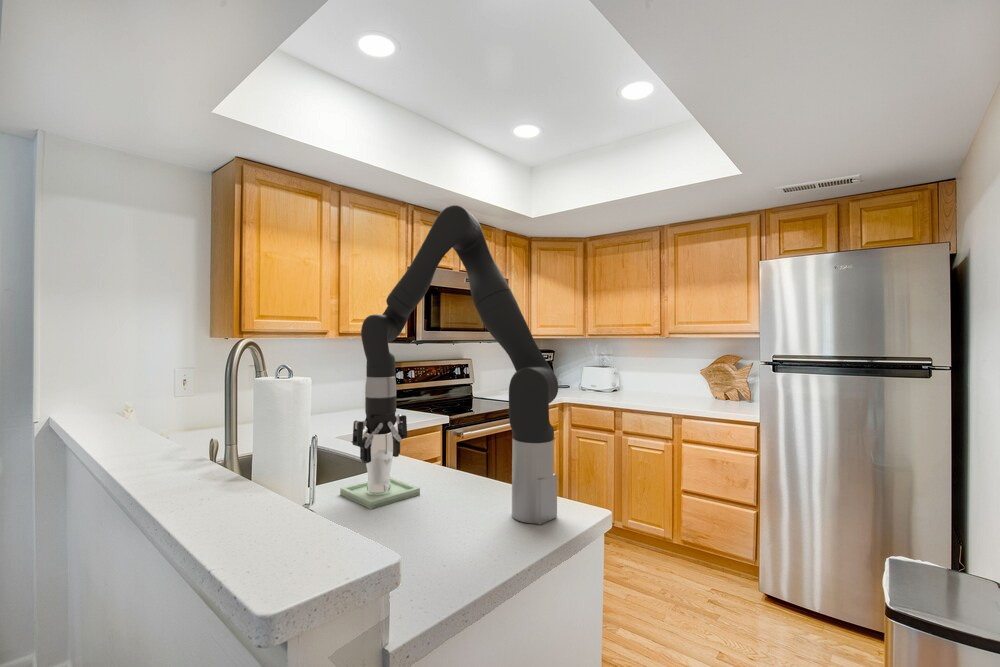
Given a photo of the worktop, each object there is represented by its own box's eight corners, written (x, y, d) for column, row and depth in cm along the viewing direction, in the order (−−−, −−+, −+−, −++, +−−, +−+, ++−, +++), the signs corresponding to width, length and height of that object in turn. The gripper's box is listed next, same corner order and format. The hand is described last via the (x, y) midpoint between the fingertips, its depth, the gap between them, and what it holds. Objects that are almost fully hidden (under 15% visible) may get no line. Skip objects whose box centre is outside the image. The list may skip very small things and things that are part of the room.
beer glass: (358, 494, 116) (359, 433, 116) (374, 486, 123) (375, 428, 123) (383, 498, 114) (384, 435, 114) (398, 489, 121) (398, 430, 121)
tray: (419, 494, 119) (420, 488, 119) (370, 509, 109) (370, 502, 109) (388, 482, 129) (388, 476, 129) (340, 494, 119) (340, 488, 119)
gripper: (363, 398, 111) (363, 468, 111) (413, 393, 121) (413, 456, 121) (347, 395, 116) (346, 462, 116) (396, 390, 127) (396, 451, 126)
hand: (380, 459), depth 119 cm, fingers open, 8 cm apart
